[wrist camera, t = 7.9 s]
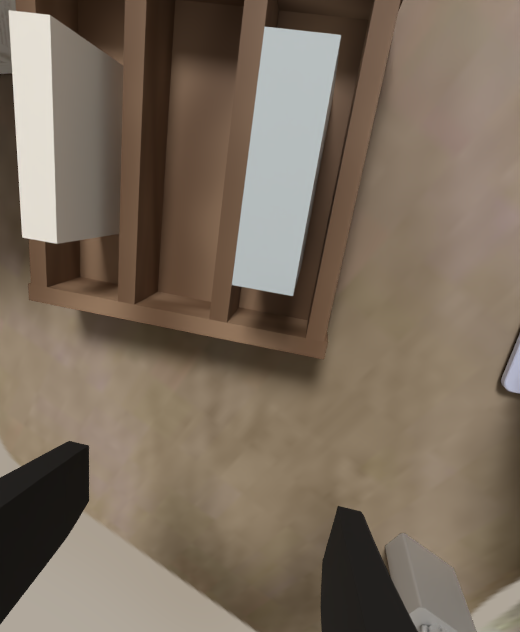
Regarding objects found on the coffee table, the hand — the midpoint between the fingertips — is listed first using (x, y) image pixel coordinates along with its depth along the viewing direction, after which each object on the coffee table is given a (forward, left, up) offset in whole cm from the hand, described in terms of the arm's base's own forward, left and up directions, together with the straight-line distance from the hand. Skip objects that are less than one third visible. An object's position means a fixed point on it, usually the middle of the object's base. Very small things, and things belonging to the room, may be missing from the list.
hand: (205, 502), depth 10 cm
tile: (+8, -9, -9) cm, 15 cm away
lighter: (-13, +12, -11) cm, 21 cm away
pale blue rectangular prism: (0, -9, -9) cm, 13 cm away
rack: (+4, -9, -10) cm, 14 cm away
